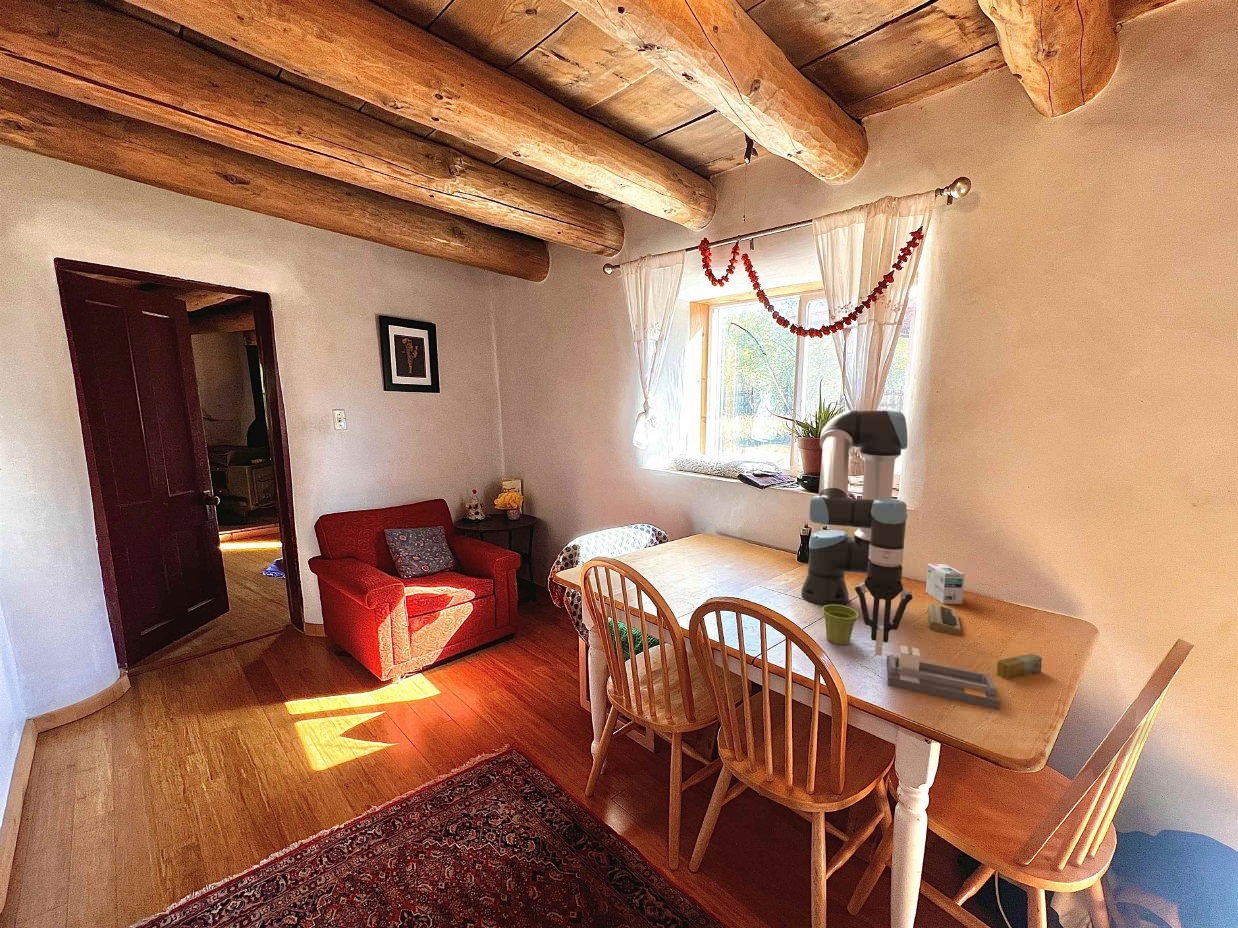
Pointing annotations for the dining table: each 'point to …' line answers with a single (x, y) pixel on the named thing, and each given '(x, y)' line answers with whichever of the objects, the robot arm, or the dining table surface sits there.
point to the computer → (943, 619)
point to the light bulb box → (945, 583)
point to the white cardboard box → (909, 658)
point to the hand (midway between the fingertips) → (878, 652)
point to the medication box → (1019, 666)
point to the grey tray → (944, 682)
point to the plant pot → (839, 623)
